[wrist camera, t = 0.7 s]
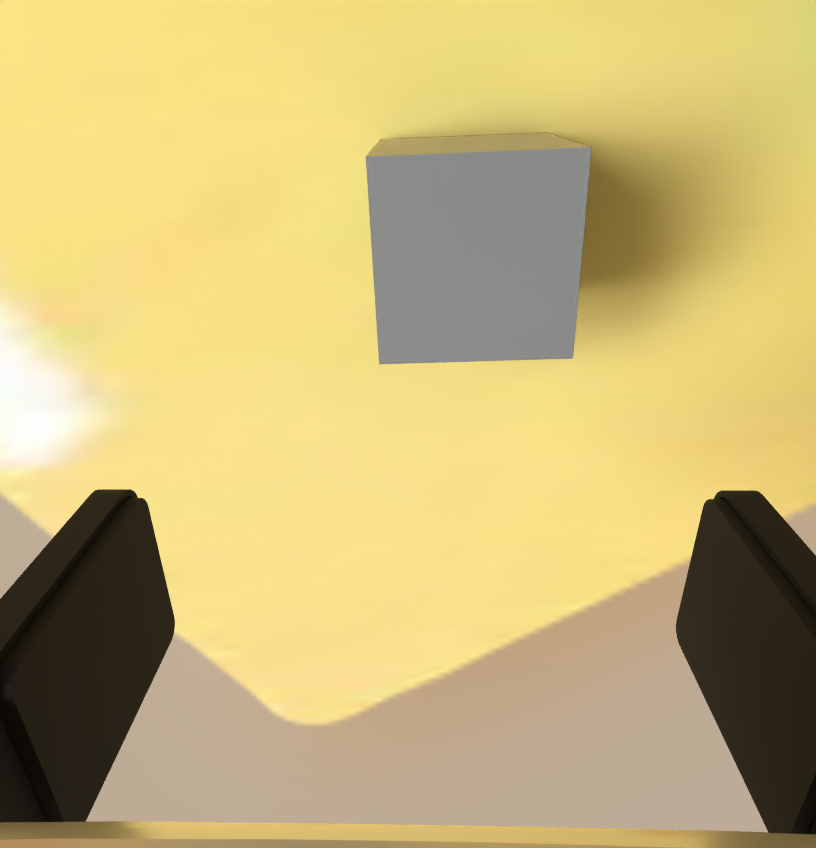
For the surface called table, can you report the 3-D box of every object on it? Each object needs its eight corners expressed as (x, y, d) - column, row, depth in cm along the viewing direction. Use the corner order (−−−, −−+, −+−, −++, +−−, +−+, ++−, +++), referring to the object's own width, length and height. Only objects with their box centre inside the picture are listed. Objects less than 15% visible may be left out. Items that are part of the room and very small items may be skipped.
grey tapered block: (380, 139, 30) (365, 156, 22) (546, 132, 29) (591, 147, 22) (389, 300, 33) (379, 364, 25) (536, 295, 33) (572, 358, 25)
